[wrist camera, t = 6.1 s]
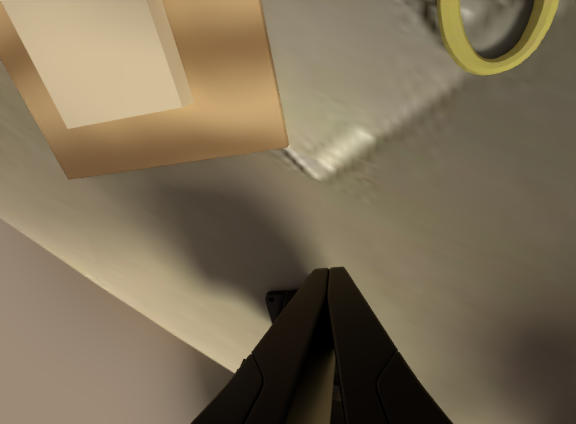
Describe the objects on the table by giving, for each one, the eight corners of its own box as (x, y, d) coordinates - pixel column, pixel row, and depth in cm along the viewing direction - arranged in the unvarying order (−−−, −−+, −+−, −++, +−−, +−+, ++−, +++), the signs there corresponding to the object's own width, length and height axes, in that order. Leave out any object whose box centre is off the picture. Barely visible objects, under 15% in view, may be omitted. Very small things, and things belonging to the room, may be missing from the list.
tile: (182, 107, 17) (67, 129, 18) (194, 101, 18) (87, 122, 20) (126, -58, 14) (-7, -14, 15) (146, -49, 15) (22, -10, 17)
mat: (288, 144, 19) (287, 147, 19) (74, 176, 23) (68, 179, 22) (224, -185, 13) (220, -194, 12) (-62, -72, 16) (-75, -76, 16)
